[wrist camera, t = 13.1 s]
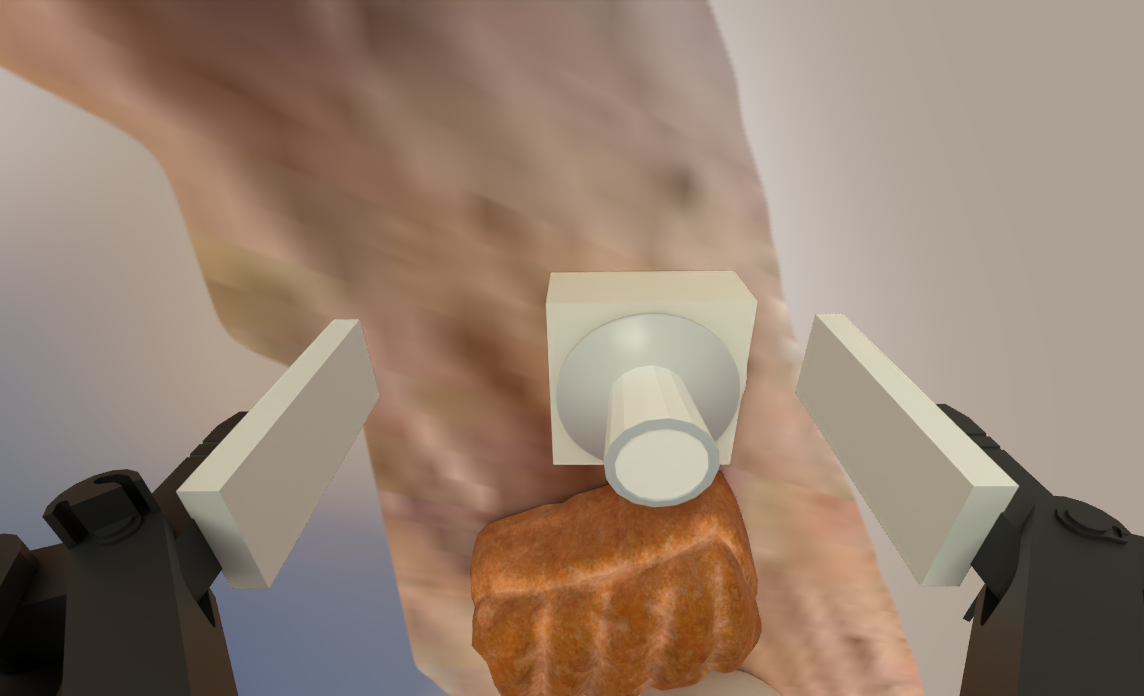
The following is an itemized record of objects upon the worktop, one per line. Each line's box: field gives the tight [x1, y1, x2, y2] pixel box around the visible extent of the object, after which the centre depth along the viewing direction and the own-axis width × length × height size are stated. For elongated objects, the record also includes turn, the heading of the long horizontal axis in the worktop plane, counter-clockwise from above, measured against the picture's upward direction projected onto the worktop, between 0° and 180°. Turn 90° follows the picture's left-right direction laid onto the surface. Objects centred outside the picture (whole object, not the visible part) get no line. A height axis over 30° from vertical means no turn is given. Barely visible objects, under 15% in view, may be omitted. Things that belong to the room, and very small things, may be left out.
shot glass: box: [604, 366, 719, 507], centre depth 33 cm, size 7×7×7 cm
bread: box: [470, 471, 761, 696], centre depth 46 cm, size 14×26×16 cm, turn 113°
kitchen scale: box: [546, 271, 758, 465], centre depth 39 cm, size 15×14×7 cm
